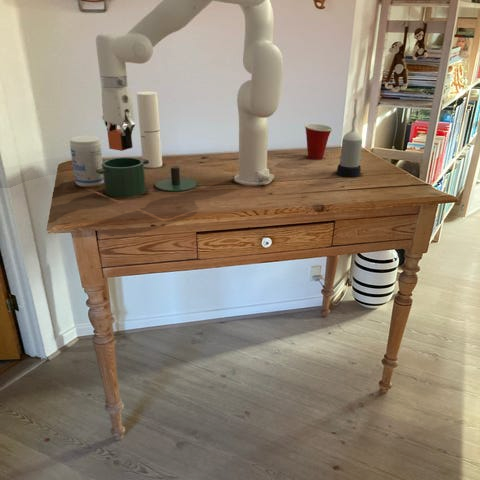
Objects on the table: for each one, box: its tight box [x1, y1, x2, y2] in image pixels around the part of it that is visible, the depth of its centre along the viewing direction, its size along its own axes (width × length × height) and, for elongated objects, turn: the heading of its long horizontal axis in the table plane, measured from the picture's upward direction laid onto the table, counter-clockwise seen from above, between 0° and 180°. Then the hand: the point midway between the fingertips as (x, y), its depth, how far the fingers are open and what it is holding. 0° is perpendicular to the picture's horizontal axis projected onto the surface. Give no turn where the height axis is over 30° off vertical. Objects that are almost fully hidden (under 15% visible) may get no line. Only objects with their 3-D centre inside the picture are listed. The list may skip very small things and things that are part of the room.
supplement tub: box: [69, 135, 104, 188], centre depth 171 cm, size 10×10×15 cm
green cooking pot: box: [96, 156, 149, 199], centre depth 165 cm, size 13×18×10 cm
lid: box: [154, 165, 198, 193], centre depth 171 cm, size 14×14×7 cm
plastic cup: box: [304, 123, 334, 160], centre depth 203 cm, size 11×11×12 cm
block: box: [107, 128, 133, 152], centre depth 159 cm, size 5×5×5 cm
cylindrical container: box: [136, 91, 163, 169], centre depth 189 cm, size 7×7×25 cm
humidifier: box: [336, 98, 363, 178], centre depth 180 cm, size 8×8×25 cm
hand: (120, 146), depth 160 cm, fingers closed on block, 6 cm apart
